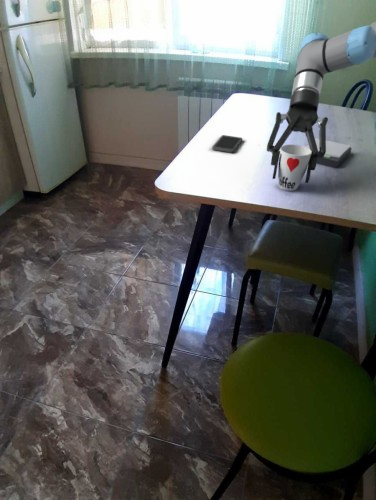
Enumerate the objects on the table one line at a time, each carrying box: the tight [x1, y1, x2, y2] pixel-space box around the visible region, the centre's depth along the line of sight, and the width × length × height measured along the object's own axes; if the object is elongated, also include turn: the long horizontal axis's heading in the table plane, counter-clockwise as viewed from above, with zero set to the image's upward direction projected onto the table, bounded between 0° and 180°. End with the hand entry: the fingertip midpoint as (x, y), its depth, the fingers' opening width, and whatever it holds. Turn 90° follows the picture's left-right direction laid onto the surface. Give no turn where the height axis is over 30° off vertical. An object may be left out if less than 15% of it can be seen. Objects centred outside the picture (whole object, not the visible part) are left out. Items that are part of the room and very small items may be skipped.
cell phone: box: [211, 134, 243, 154], centre depth 137 cm, size 7×14×1 cm, turn 162°
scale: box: [304, 137, 353, 169], centre depth 133 cm, size 13×15×3 cm
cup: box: [277, 144, 312, 192], centre depth 111 cm, size 8×8×10 cm
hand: (290, 178), depth 110 cm, fingers closed on cup, 8 cm apart
